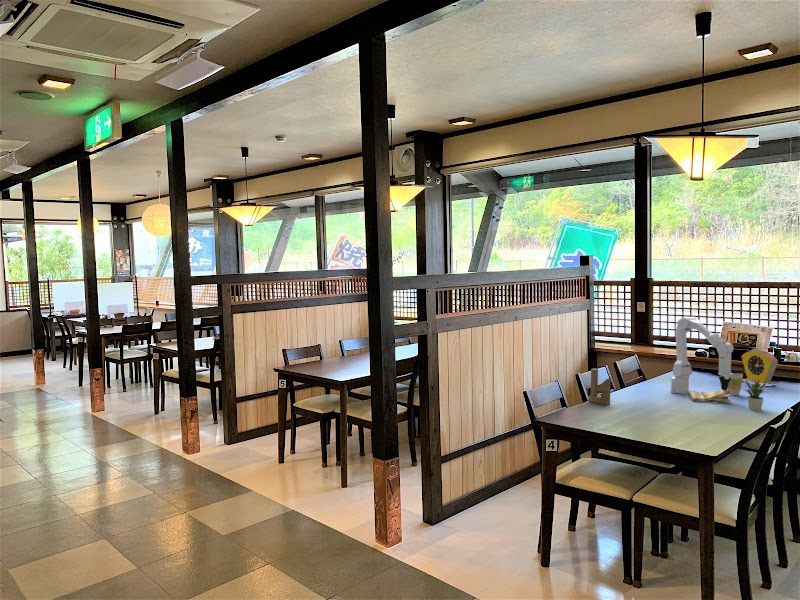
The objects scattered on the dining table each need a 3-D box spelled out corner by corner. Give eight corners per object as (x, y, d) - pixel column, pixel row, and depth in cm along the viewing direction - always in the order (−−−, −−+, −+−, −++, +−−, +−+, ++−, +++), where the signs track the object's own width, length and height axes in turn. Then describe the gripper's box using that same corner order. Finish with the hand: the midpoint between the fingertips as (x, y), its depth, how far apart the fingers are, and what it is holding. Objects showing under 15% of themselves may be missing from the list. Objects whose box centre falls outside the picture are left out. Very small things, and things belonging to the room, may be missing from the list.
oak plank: (707, 401, 323) (706, 398, 323) (704, 397, 332) (703, 395, 332) (730, 393, 319) (729, 391, 319) (727, 390, 328) (726, 387, 328)
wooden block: (606, 405, 316) (607, 371, 315) (588, 401, 325) (589, 368, 323) (610, 404, 319) (611, 370, 317) (592, 400, 327) (593, 368, 326)
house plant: (778, 414, 297) (779, 381, 296) (747, 412, 300) (748, 380, 299) (766, 407, 311) (767, 376, 310) (737, 406, 314) (738, 375, 313)
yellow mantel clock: (737, 381, 378) (738, 347, 377) (749, 380, 381) (750, 346, 380) (768, 388, 357) (769, 352, 356) (780, 387, 360) (781, 351, 359)
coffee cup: (741, 397, 333) (742, 370, 332) (722, 395, 339) (722, 368, 338) (744, 394, 341) (745, 368, 340) (725, 392, 347) (725, 366, 346)
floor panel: (693, 401, 325) (693, 397, 325) (688, 393, 343) (688, 390, 343) (732, 404, 318) (732, 400, 318) (725, 396, 337) (726, 392, 337)
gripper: (735, 367, 315) (735, 393, 316) (730, 363, 329) (730, 387, 329) (720, 367, 317) (720, 392, 318) (716, 362, 331) (715, 387, 332)
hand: (724, 390), depth 324 cm, fingers closed, pressing on oak plank
